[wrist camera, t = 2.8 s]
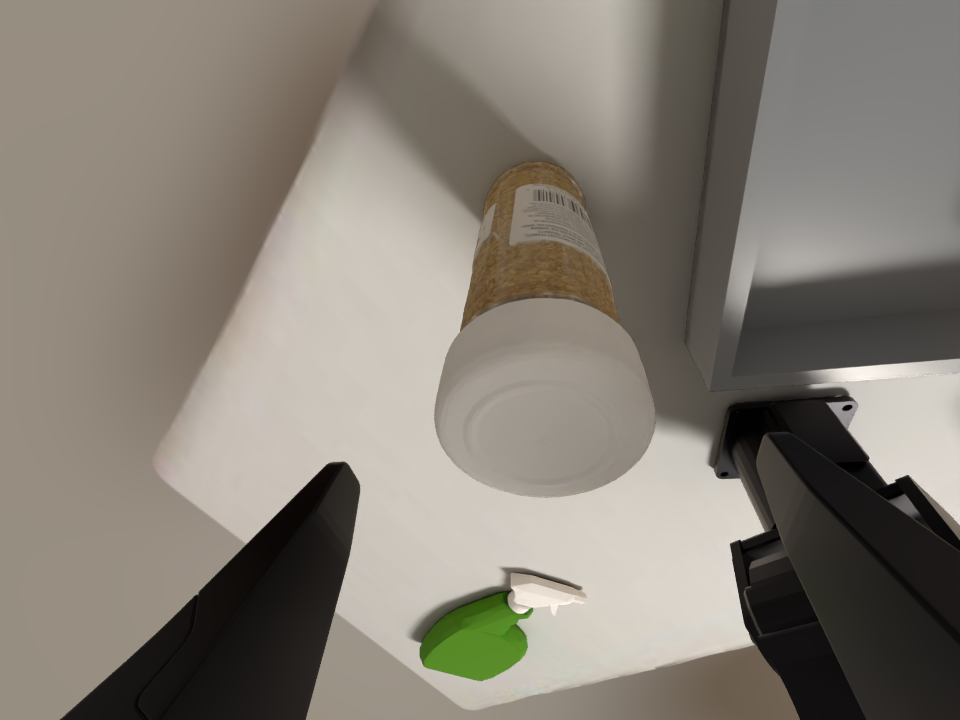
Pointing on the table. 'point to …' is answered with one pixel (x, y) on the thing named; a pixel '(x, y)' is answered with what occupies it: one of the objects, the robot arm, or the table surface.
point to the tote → (830, 195)
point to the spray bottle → (491, 629)
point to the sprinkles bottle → (542, 350)
